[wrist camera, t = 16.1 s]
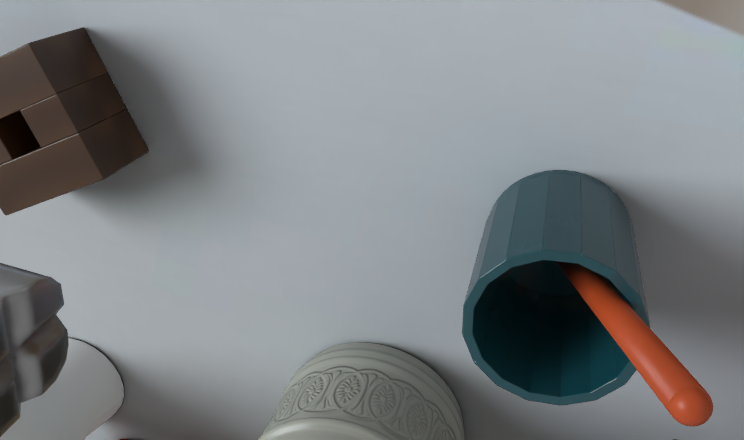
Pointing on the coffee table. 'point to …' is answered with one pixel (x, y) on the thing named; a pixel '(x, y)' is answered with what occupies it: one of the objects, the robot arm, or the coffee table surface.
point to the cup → (72, 399)
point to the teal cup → (551, 289)
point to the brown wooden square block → (59, 121)
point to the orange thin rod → (642, 347)
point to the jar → (366, 399)
